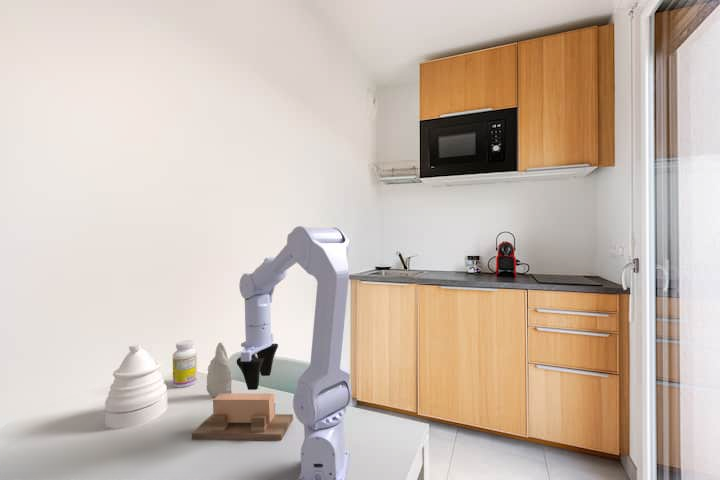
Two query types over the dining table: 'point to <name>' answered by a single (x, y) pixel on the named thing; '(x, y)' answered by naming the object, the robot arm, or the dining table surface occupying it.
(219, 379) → the stone tool
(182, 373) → the supplement bottle
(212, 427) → the wooden block stand
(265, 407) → the clay bar
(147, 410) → the honey pot
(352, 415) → the dining table surface
